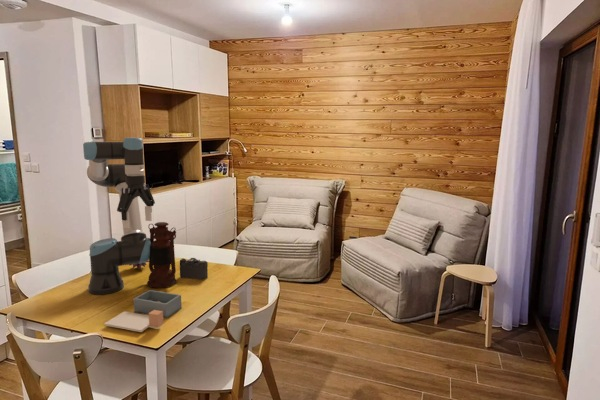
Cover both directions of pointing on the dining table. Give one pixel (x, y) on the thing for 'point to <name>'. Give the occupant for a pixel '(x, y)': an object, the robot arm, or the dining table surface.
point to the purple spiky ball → (139, 265)
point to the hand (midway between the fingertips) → (138, 224)
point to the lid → (137, 321)
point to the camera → (193, 269)
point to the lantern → (162, 256)
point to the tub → (157, 303)
